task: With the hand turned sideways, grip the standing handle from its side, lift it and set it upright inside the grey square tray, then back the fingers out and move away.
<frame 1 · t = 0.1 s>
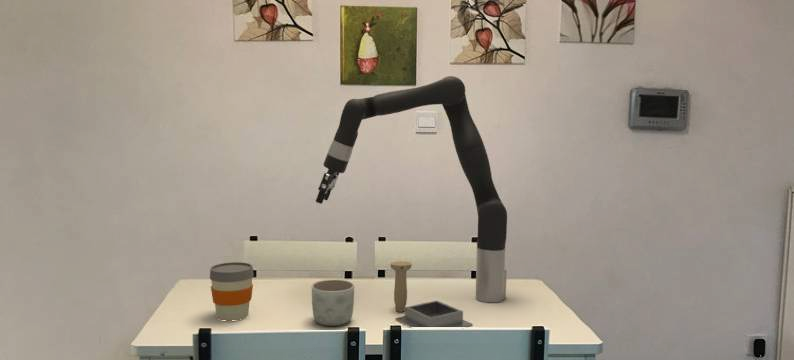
hand: (321, 201, 197), 31 cm above the table, tool tilted 20°, fingers open, 8 cm apart
reusable coffee cup: (232, 317, 175), on the table
grey square tray: (433, 322, 172), on the table
handle: (400, 311, 182), on the table
planter: (333, 322, 172), on the table
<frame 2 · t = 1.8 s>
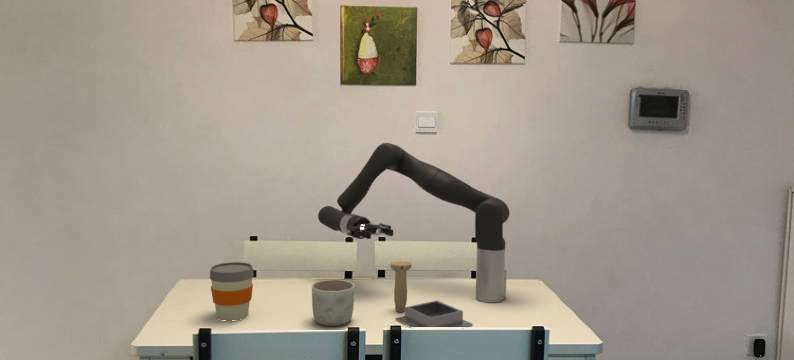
hand: (381, 234, 188), 22 cm above the table, tool horizontal, fingers open, 8 cm apart
nothing on the table moved.
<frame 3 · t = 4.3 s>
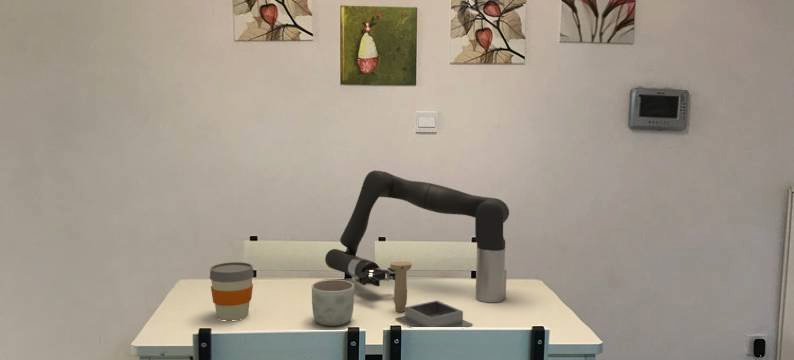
hand: (390, 281, 186), 8 cm above the table, tool horizontal, fingers open, 8 cm apart
nothing on the table moved.
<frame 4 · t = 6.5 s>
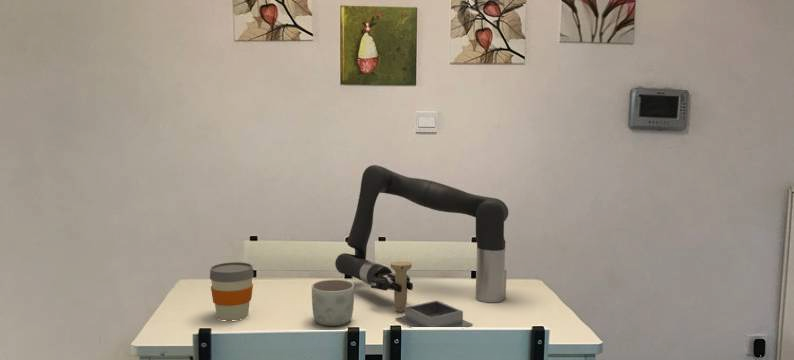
hand: (406, 287, 179), 8 cm above the table, tool horizontal, fingers closed on handle, 3 cm apart
handle: (400, 311, 182), on the table, touching gripper
everything else where it was.
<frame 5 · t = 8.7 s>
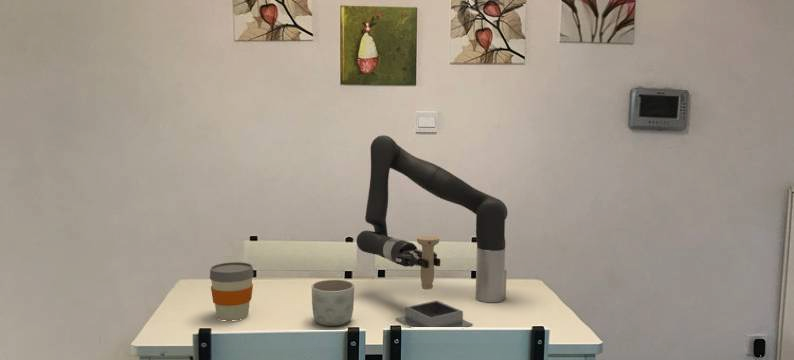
hand: (433, 263, 169), 18 cm above the table, tool horizontal, fingers closed on handle, 3 cm apart
handle: (427, 288, 173), point 10 cm above the table, touching gripper
everything else where it was.
when the fingers open (9 cm above the table, at t = 11.3 s): handle stays where it is, resting on grey square tray.
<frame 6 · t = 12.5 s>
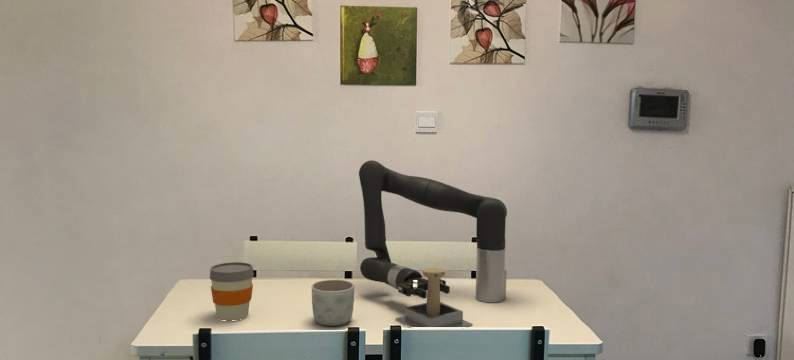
hand: (437, 292, 169), 9 cm above the table, tool horizontal, fingers open, 8 cm apart
handle: (433, 321, 172), resting on grey square tray
everything else where it was.
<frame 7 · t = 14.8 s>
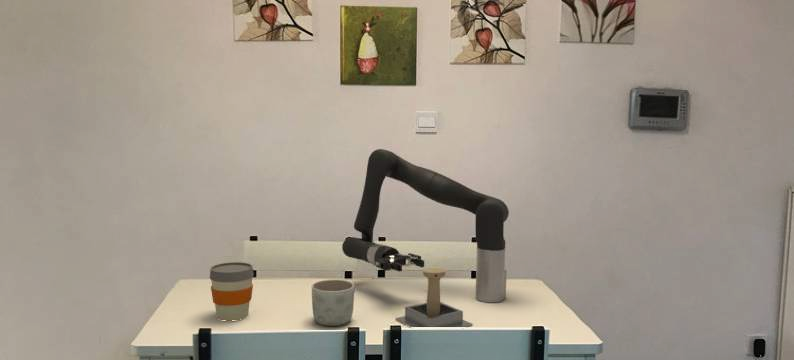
hand: (412, 266, 181), 14 cm above the table, tool horizontal, fingers open, 8 cm apart
nothing on the table moved.
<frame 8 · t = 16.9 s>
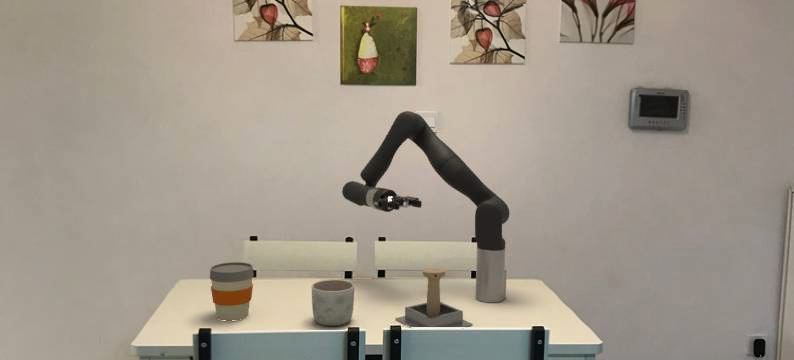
hand: (409, 205, 185), 32 cm above the table, tool horizontal, fingers open, 8 cm apart
nothing on the table moved.
at the end: handle 0.1 cm off-centre on the grey square tray, point 0.4 cm above the grey square tray's base; handle tilted 0°; the gripper is holding nothing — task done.
